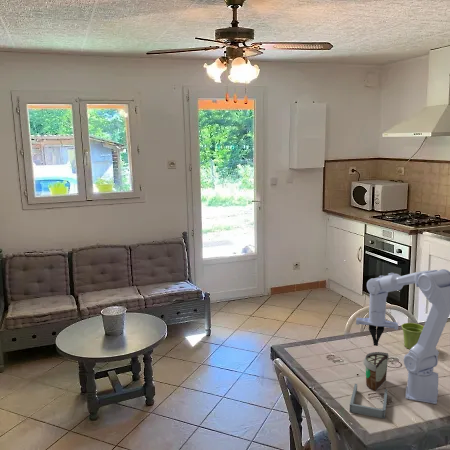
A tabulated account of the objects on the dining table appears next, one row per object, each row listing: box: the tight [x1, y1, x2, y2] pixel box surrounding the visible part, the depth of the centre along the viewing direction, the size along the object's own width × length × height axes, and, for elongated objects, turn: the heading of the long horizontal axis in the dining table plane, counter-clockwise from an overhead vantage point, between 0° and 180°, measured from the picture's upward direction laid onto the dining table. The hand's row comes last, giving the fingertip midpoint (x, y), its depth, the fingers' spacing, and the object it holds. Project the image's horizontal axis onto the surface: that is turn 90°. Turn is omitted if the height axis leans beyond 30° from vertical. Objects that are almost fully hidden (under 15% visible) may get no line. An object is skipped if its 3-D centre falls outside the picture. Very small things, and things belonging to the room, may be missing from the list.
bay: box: [349, 383, 388, 419], centre depth 150 cm, size 11×14×2 cm
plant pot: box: [401, 322, 424, 350], centre depth 190 cm, size 9×9×9 cm
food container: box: [363, 351, 389, 392], centre depth 162 cm, size 12×6×10 cm, turn 141°
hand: (375, 344), depth 171 cm, fingers closed
